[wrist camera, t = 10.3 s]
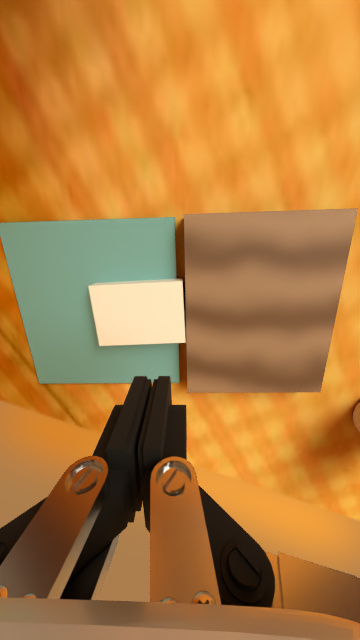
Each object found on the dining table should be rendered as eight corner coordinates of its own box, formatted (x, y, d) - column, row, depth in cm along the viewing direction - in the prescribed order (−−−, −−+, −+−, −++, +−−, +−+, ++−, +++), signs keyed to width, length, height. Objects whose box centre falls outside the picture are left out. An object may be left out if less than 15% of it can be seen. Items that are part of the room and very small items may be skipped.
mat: (-1, 223, 24) (-4, 222, 24) (174, 217, 24) (174, 217, 23) (41, 381, 31) (39, 383, 30) (179, 381, 30) (179, 382, 30)
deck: (184, 217, 24) (183, 214, 21) (340, 212, 23) (357, 208, 21) (187, 381, 30) (187, 392, 28) (309, 380, 29) (320, 392, 27)
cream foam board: (95, 282, 26) (88, 285, 24) (182, 278, 25) (182, 281, 23) (105, 339, 28) (99, 346, 26) (185, 335, 27) (185, 342, 26)
